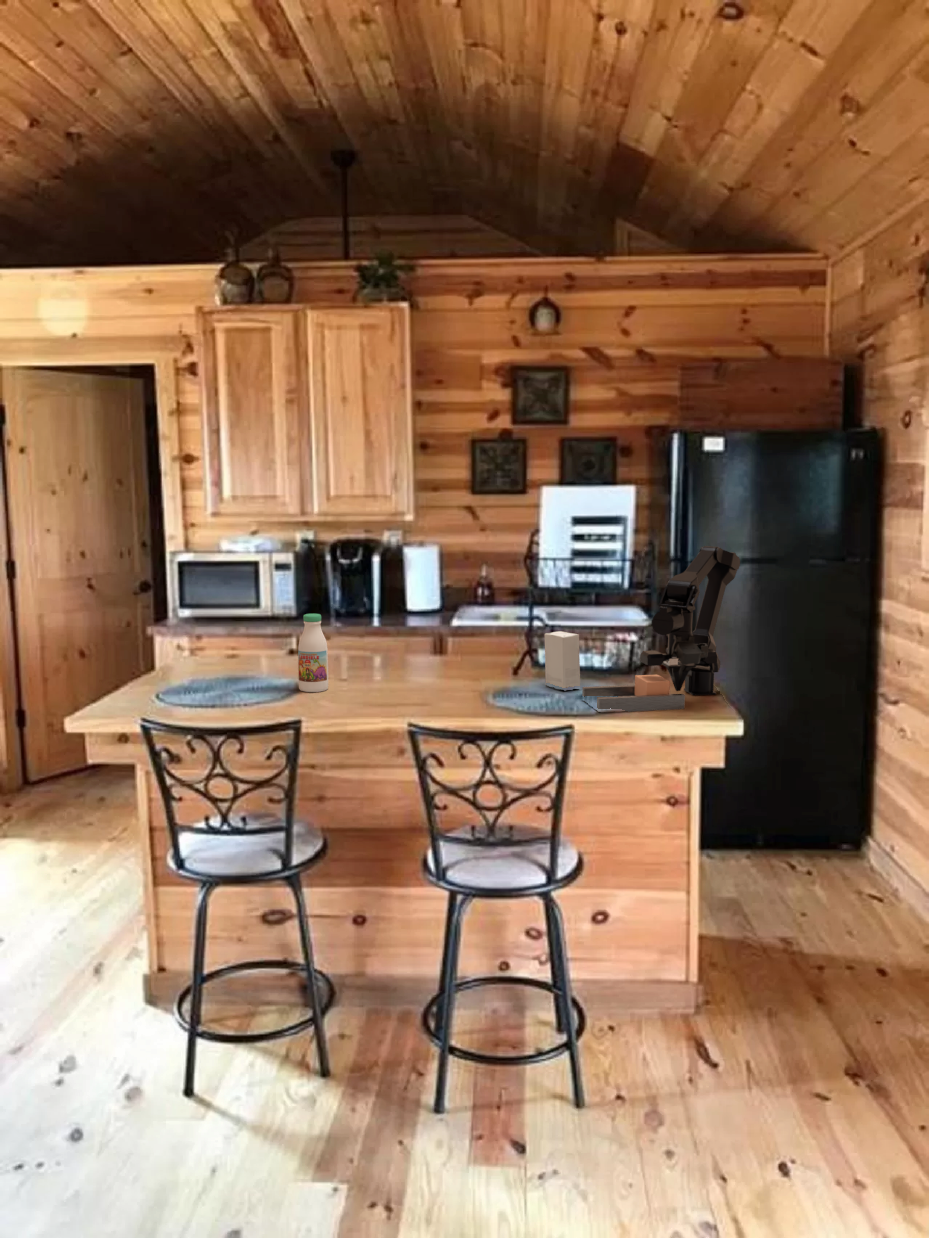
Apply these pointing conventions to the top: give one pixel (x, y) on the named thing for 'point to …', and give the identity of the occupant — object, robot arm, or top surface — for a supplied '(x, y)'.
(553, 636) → the skincare box
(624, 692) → the chute
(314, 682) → the milk bottle
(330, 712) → the top surface
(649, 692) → the block
